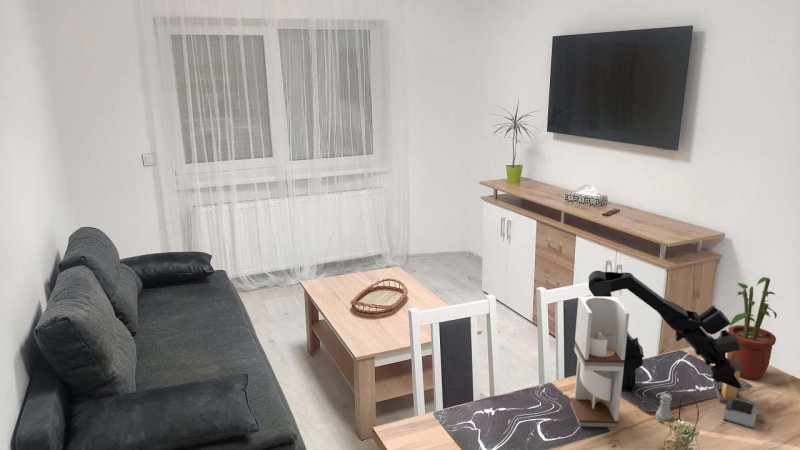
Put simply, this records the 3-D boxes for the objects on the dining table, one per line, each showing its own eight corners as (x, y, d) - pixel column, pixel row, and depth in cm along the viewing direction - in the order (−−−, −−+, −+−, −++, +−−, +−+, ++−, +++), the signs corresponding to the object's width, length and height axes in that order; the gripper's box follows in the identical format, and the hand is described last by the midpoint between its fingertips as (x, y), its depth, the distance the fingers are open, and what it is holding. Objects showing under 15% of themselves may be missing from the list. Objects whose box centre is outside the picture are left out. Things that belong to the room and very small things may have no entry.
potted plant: (778, 383, 182) (797, 280, 173) (737, 389, 179) (754, 285, 170) (736, 357, 199) (752, 262, 189) (697, 362, 196) (711, 266, 186)
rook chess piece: (671, 416, 166) (674, 391, 164) (672, 425, 162) (676, 400, 160) (654, 413, 167) (657, 389, 165) (655, 422, 163) (658, 397, 161)
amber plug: (724, 400, 172) (729, 364, 169) (721, 393, 175) (726, 358, 172) (735, 401, 171) (741, 366, 168) (732, 394, 175) (738, 359, 171)
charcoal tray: (719, 405, 171) (720, 399, 171) (714, 392, 178) (715, 387, 177) (741, 408, 169) (742, 402, 169) (736, 395, 176) (737, 390, 175)
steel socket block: (723, 423, 162) (725, 409, 161) (727, 409, 169) (729, 395, 168) (753, 432, 158) (755, 418, 157) (756, 417, 165) (758, 404, 164)
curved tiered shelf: (570, 403, 173) (578, 296, 163) (605, 404, 172) (616, 296, 163) (579, 426, 162) (588, 312, 153) (617, 427, 161) (629, 313, 152)
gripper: (731, 340, 160) (770, 381, 159) (717, 314, 177) (752, 351, 176) (696, 362, 164) (734, 402, 164) (686, 334, 181) (720, 370, 181)
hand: (736, 379), depth 171 cm, fingers open, 9 cm apart
